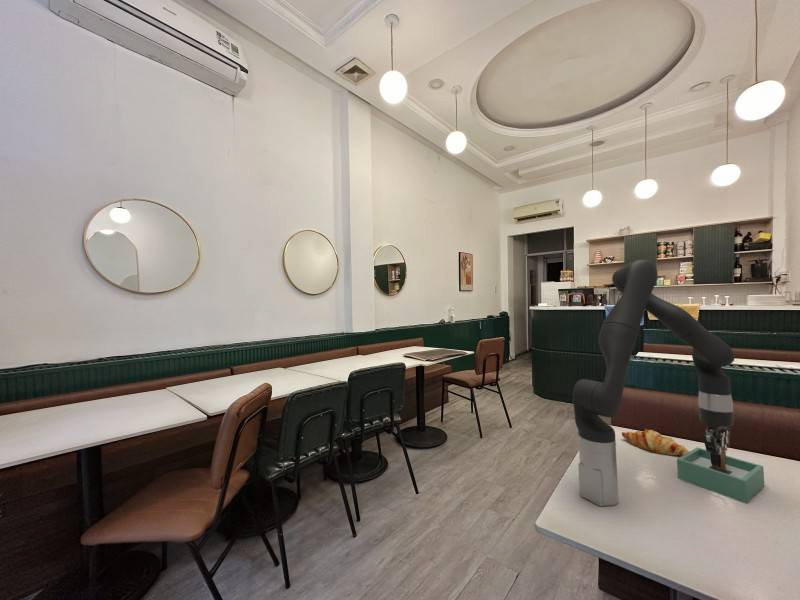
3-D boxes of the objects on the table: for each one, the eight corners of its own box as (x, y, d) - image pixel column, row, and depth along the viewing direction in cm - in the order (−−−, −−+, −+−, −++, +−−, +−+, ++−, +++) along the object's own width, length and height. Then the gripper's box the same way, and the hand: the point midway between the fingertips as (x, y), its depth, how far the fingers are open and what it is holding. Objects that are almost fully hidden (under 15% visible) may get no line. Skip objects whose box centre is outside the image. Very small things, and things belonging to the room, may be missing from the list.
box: (746, 503, 86) (745, 481, 86) (678, 478, 99) (676, 459, 100) (764, 486, 93) (763, 466, 94) (698, 465, 107) (697, 447, 107)
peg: (724, 477, 95) (722, 444, 95) (710, 473, 97) (708, 440, 97) (727, 474, 96) (726, 441, 96) (714, 470, 99) (712, 438, 99)
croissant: (693, 466, 113) (695, 443, 115) (686, 461, 107) (689, 437, 110) (624, 445, 130) (627, 425, 132) (615, 439, 124) (618, 419, 127)
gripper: (723, 415, 90) (727, 476, 90) (741, 406, 97) (744, 462, 97) (689, 408, 97) (692, 465, 97) (708, 400, 104) (711, 453, 103)
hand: (718, 463), depth 97 cm, fingers closed on peg, 3 cm apart
